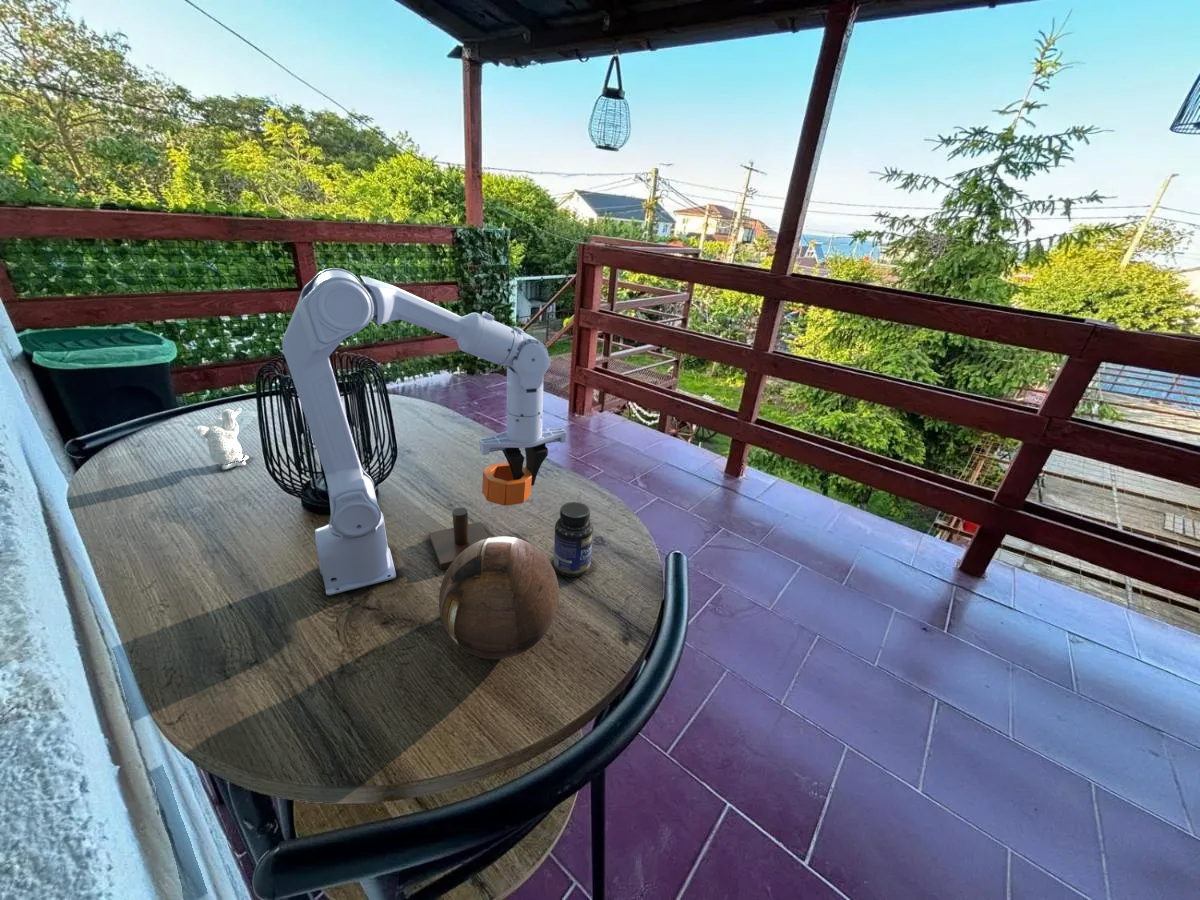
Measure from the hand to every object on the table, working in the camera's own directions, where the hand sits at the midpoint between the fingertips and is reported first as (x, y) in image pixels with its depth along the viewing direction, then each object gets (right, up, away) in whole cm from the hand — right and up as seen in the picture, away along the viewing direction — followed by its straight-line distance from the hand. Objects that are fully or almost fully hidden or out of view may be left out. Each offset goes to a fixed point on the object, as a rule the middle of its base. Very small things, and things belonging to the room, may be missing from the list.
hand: (524, 484), depth 83 cm
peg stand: (-10, -11, -1) cm, 15 cm away
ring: (-3, -2, -1) cm, 3 cm away
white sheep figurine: (-64, +3, +18) cm, 67 cm away
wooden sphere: (0, -20, -18) cm, 27 cm away
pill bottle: (+8, -13, -3) cm, 16 cm away
